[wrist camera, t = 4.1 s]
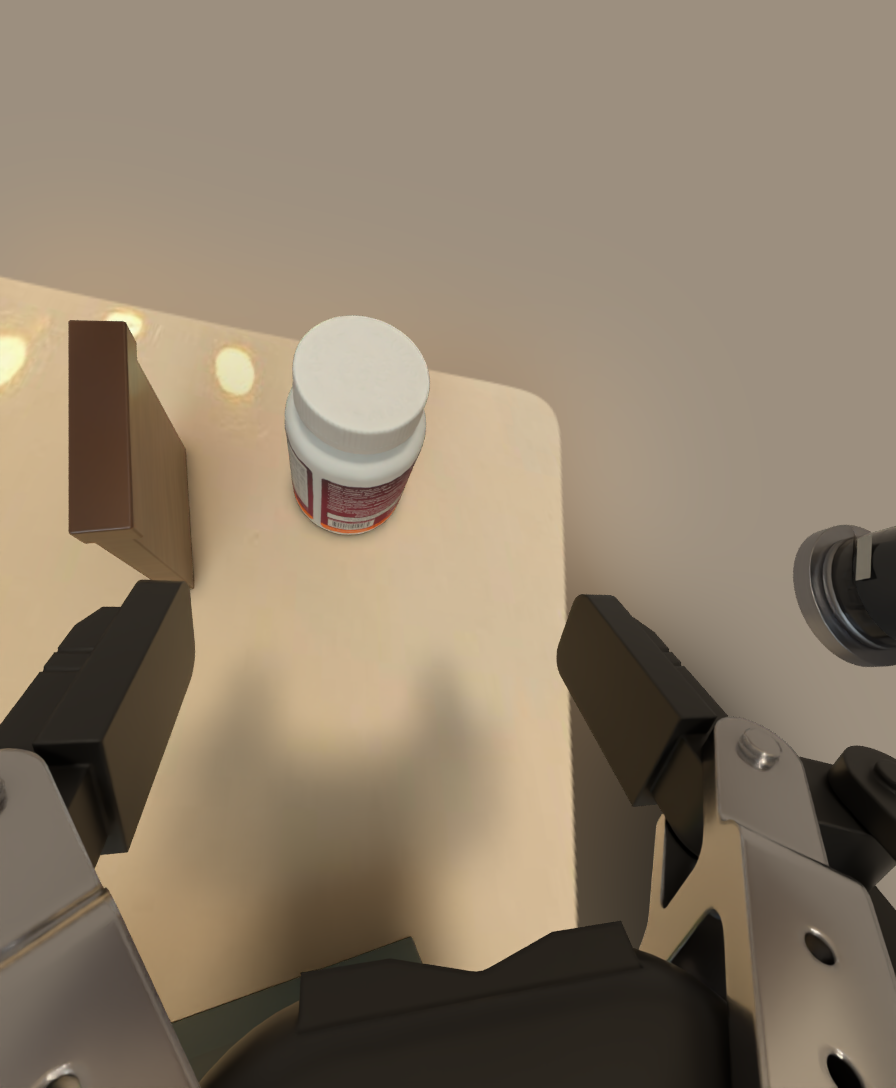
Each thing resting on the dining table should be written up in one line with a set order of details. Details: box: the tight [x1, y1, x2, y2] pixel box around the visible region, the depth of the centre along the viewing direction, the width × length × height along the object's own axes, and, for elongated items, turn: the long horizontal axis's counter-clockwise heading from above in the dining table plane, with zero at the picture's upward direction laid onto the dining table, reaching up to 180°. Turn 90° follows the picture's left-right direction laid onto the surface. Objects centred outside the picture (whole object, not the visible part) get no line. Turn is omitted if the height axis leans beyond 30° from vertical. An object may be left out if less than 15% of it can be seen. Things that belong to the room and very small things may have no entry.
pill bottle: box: [285, 316, 430, 535], centre depth 23 cm, size 6×6×11 cm
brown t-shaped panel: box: [69, 320, 194, 589], centre depth 21 cm, size 2×8×10 cm, turn 11°
